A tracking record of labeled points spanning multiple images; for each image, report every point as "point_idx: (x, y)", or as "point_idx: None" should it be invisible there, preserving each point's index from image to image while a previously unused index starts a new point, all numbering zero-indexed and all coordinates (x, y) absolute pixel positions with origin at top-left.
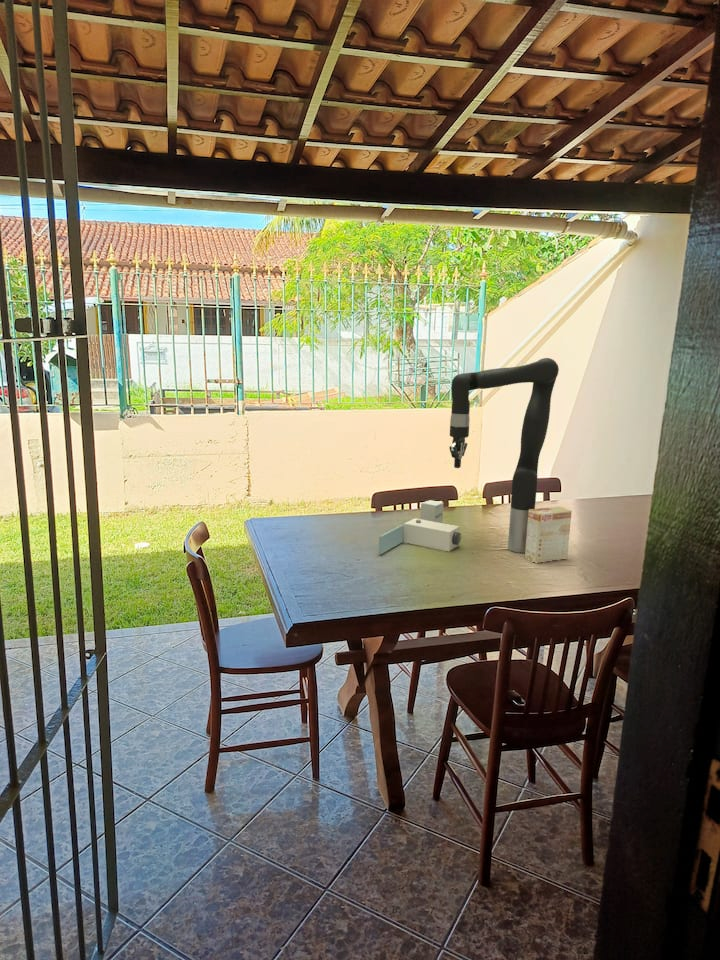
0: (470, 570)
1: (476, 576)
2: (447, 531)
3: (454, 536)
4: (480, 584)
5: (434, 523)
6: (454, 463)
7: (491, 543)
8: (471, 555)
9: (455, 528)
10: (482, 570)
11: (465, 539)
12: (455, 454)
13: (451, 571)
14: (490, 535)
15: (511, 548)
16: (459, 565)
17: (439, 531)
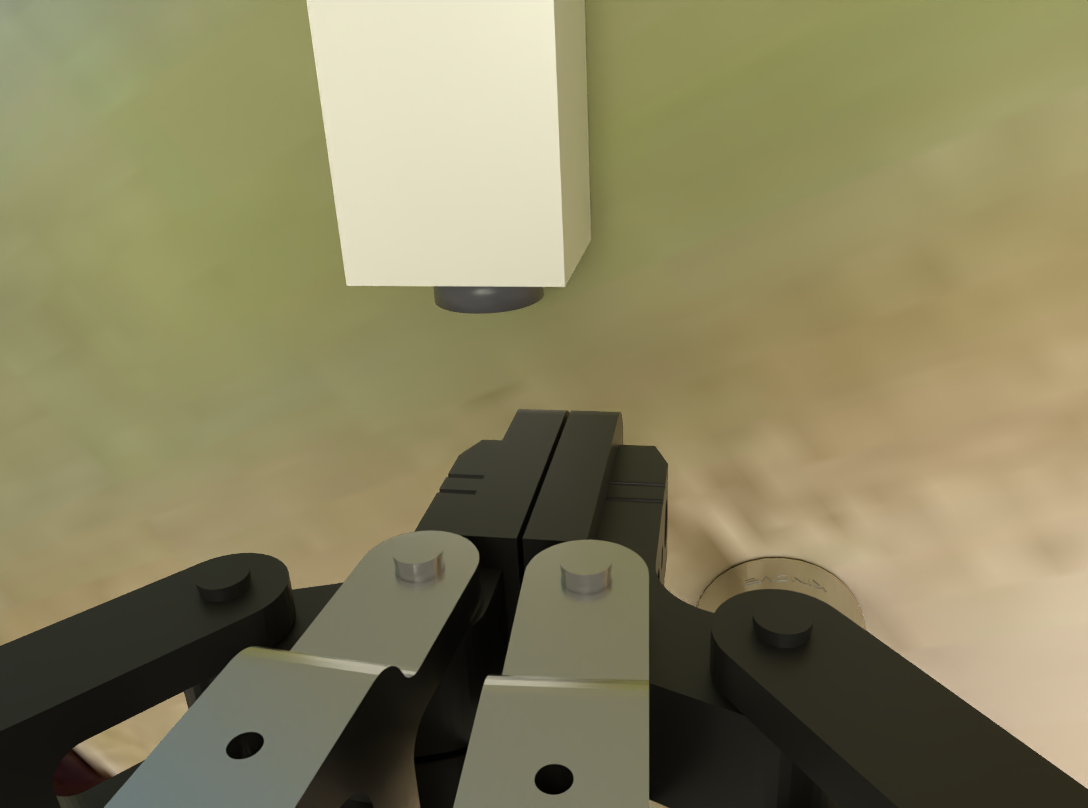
0: (210, 487)
1: (160, 540)
2: (351, 260)
3: (434, 288)
4: (89, 585)
5: (496, 21)
6: (496, 456)
7: (801, 435)
8: (447, 404)
9: (481, 282)
10: (259, 540)
11: (786, 223)
12: (64, 797)
13: (116, 405)
14: (1029, 361)
15: (703, 603)
16: (231, 407)
17: (337, 179)
